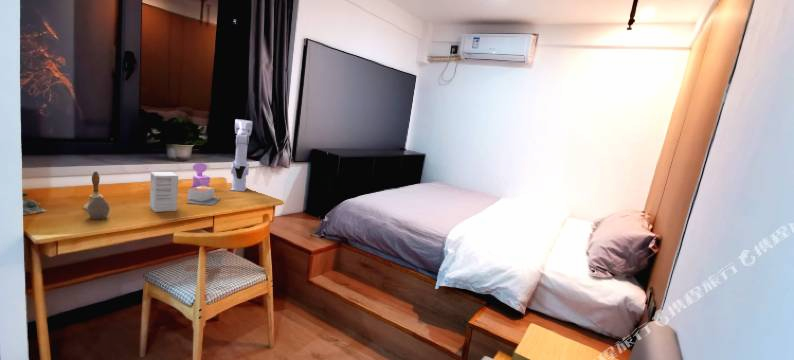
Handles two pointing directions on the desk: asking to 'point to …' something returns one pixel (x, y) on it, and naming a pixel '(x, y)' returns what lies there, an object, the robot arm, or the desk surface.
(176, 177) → the supplement box
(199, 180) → the toy chair
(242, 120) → the robot arm
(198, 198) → the small box
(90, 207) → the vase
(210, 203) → the slate mat
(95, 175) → the hand bell
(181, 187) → the desk surface
